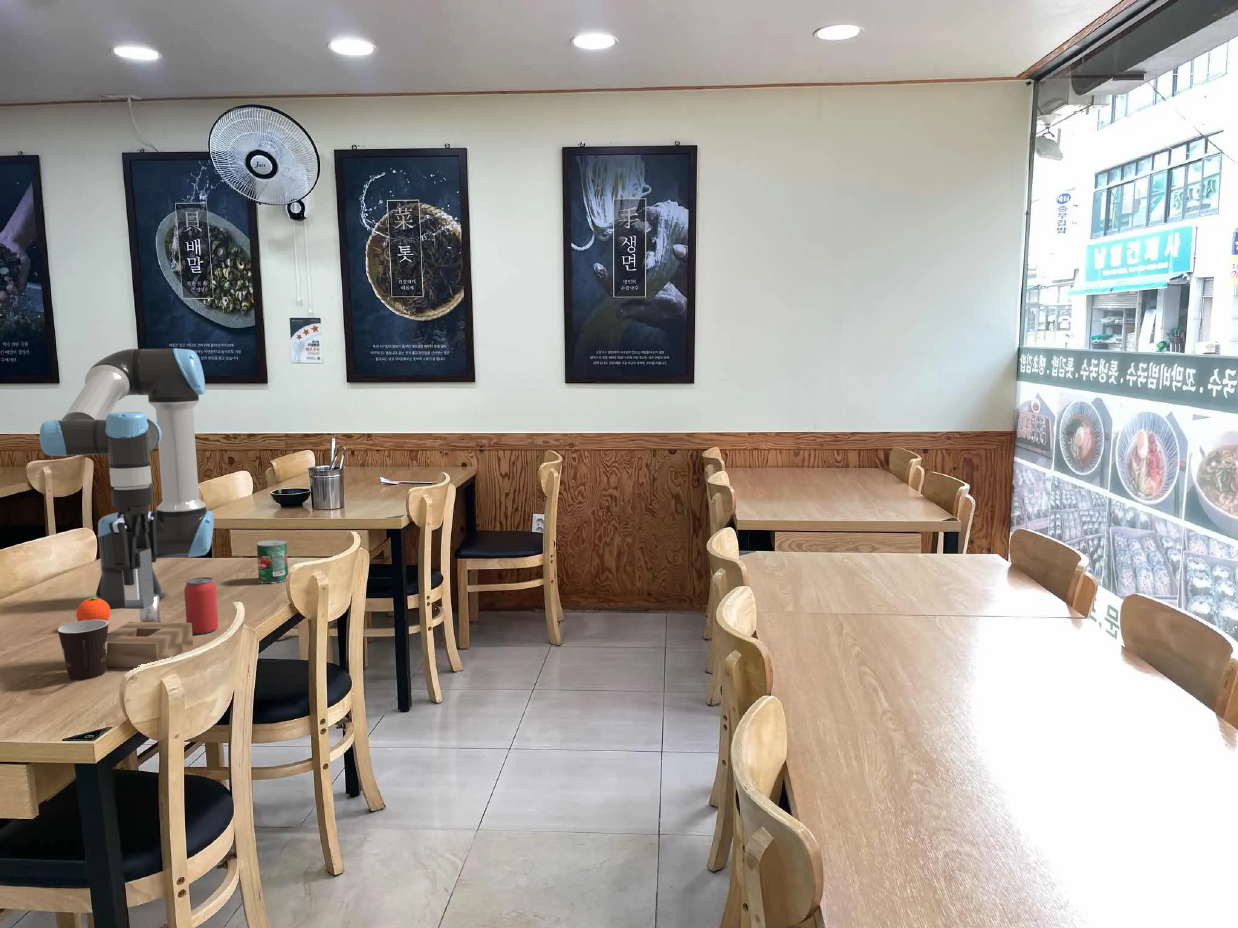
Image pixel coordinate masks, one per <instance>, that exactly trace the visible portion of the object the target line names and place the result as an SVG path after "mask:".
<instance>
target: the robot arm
mask: <svg viewBox="0 0 1238 928" xmlns="http://www.w3.org/2000/svg"><path fill="white" fill-rule="evenodd" d="M205 382H206V381H205V375H204V370H203V367H202V363H201V360H200V358H199V355H198V354H197V352H196V351H194V350H192V349H187V348H185V349H184V348H176V347H175V348H128V349H123V350H119V351H117V352H113V353H112V354H109V355H107V356H105V357H103V358H102V359H100V360H99V361H97V362H96V363H95V364H93V366H91V367H90V369H89V370H88V371H87V373H86V375H85V378H84V386H83V387H82V389H81V390H80V392H79V394H78V395H77V397H76V398H75V399H74V401H73V402H72V404H71V406H70V407H69V409H68V410H67V411H66V413H65V414H64V416H63V417H62V419H61V420H59V419H55V420H48V421H47V420H46V421H44V422H42V424H41V426H40V428H39V443H40V448H41V449H42V452H43V453H44V454H45V455H46V456H50V457H51V456H54V457H59V456H61V457H70V456H71V457H72V456H95V455H97V456H99V455H108V465H109V466H108V467H109V473H108V474H109V479H110V486H111V487H112V488H111V490H110V494H111V495H110V497H111V506H112V507H114V508H117V509H118V511H117V512H113V513H111V514H110V513H109V514H106V515H105V516H103V517H101V518H100V519H99V520H98V523H97V526H98V528H97V533H98V534H97V538H98V546H99V556H100V557H99V561H100V570H101V571H100V572H101V575H100V578H99V581H98V585H97V589H96V593H95V597H97V598H100V599H102V600H104V601H105V602H107V603H108V605H109V607H110V609H111V608H113V609H115V608H117V609H118V608H125V601H124V587H125V600H139V599H140V590H139V576H138V569H135V559H136V548H151V561H152V563H156V562H157V559H158V560H159V559H175V558H189V559H190V558H191V557H192V558H194V557H201V556H205V555H207V554H208V553H209V551H210V549H211V546H212V543H213V536H214V527H215V526H214V524H215V523H214V520H215V518H214V513H213V512H212V511H210V510H207V505H206V503H205V502H204V501H202V499H200V494H199V493H200V492H199V491H200V490H199V479H198V463H197V461H198V460H197V450H196V438H195V437H196V433H195V432H196V431H195V419H194V407H195V406H196V405H197V404H198V403H199V402H200V398H199V397H200V396H201V395H203V394H205V392H206V383H205ZM127 396H147V398H148V404H149V405H151V406H152V407H153V408H154V410H155V416H156V417H155V418H156V421H154V420H153V419H151V418H148V417H147V415H146V413H144V412H140V411H123V412H122V411H121V412H112V411H113V410H114V407H115V406H116V404H118V401H121V400H122V399H124V398H125V397H127ZM157 447H158V454H159V455H158V456H159V471H160V482H161V483H160V484H161V485H160V486H161V497H162V501H161V503H159V505H158V506H156V511H150V509H149V506H150V505H152V504H153V502H154V499H153V487H152V486H150V485H151V484H152V482H153V481H152V470H151V459H150V458H151V457H150V452H152V451H153V450H155V449H156V448H157ZM122 570H123V574H122ZM152 575H153V589H154V594H158V595H159V600H160V599H161V598H162V597H163V591H162V590H163V589H162V586H161V584H160V581H159V579H158V577H157V575H156V573H155V570H154V568H153V566H152ZM123 577H124V587H123Z"/></svg>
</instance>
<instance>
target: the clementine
mask: <svg viewBox="0 0 1238 928" xmlns="http://www.w3.org/2000/svg"><path fill="white" fill-rule="evenodd" d="M110 616H111V608H110V607H109V605H108V603H107V602H105V601H104V600H102V599H100V598H97V597H89V598H87V599H85V600H84V601H82V602H81V603H80V604H79V605H78V606H77V610H76V619H77V622H78V621H84V620H105V621H107V622H108V620H109V619H110Z"/></svg>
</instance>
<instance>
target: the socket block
mask: <svg viewBox="0 0 1238 928" xmlns="http://www.w3.org/2000/svg"><path fill="white" fill-rule="evenodd" d="M193 639H194V638H193V634H192V623H186V622H164V621H163V622H162V621H161V622H141V621H129V622H127V623H125V624H123V625H121V626H119V627H117V628H116V629H113V630H112V631H108V636H107V655H106V668H110V667H112V666H113V667H115V666H116V667H115V668H117V667H119V668H120V667H121V668H138V667H137V666H138V665H141V664H147V663H150V662H155V661H159V660H161V659H166V658H170V657H171V656H175V655H176V656H177V655H179V654H181V653H182V652H184V651H186V650H187V649H189V648H191V647H192V646H193V645H194V640H193ZM176 656H175V657H176ZM107 666H108V667H107ZM113 667H112V668H113Z"/></svg>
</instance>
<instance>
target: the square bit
mask: <svg viewBox="0 0 1238 928" xmlns="http://www.w3.org/2000/svg"><path fill="white" fill-rule="evenodd" d="M152 567H153V562H152V561H151V548H136V559H135V569H138V576H139V590H140V599H139V600H125V587H124V577H123V587H124V601H125V607H124V609H126V610H127V609H128V610H130V609H131V610H132V609H133V610H137V609H138V610H140V609H144V608H146V607H148V606H150V605H153V604H154V589H153V575H152ZM122 574H123V570H122Z"/></svg>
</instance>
